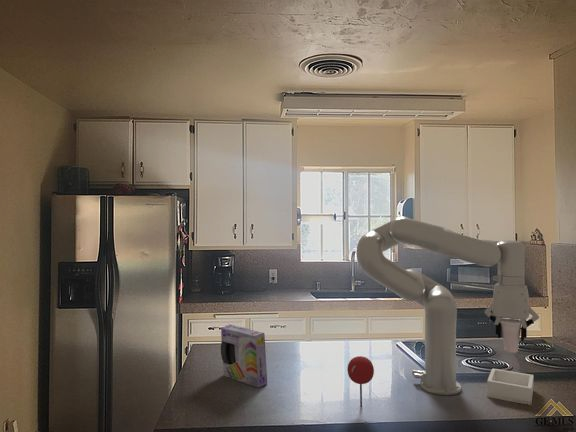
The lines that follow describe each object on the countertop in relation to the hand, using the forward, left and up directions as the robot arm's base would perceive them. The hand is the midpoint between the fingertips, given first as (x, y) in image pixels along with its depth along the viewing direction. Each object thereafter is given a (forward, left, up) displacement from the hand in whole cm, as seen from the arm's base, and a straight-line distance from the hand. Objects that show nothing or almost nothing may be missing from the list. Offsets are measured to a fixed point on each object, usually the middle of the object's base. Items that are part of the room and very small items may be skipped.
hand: (511, 337), depth 141 cm
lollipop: (-37, -32, -18) cm, 52 cm away
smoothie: (0, 0, -4) cm, 4 cm away
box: (0, 0, -18) cm, 18 cm away
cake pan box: (-80, -32, -18) cm, 88 cm away
